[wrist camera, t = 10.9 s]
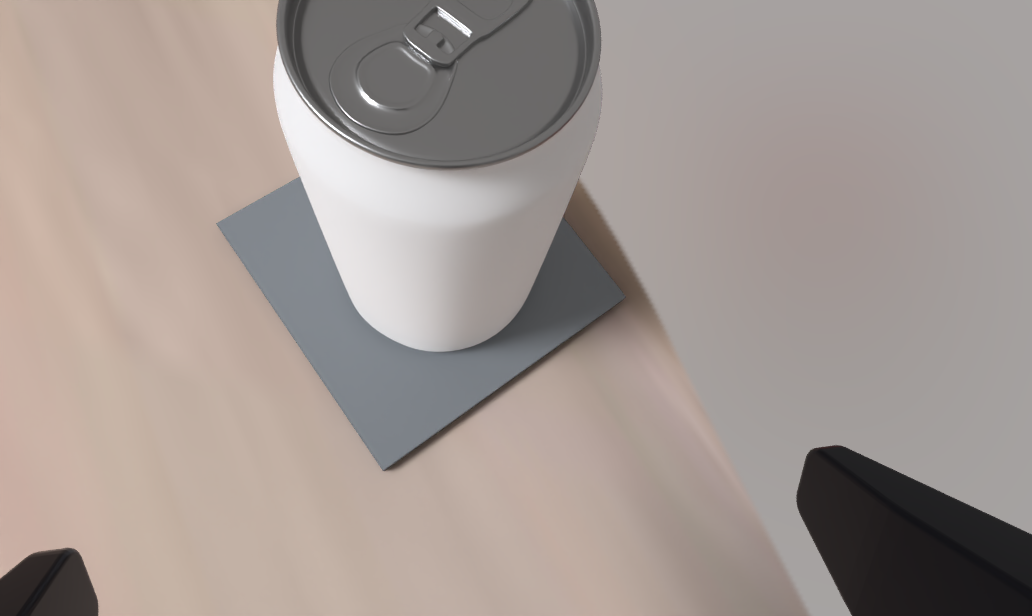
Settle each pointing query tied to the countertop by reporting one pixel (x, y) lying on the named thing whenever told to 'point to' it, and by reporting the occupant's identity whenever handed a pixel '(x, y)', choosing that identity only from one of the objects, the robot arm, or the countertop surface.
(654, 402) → the countertop surface
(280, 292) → the mat
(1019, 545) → the robot arm
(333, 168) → the can
